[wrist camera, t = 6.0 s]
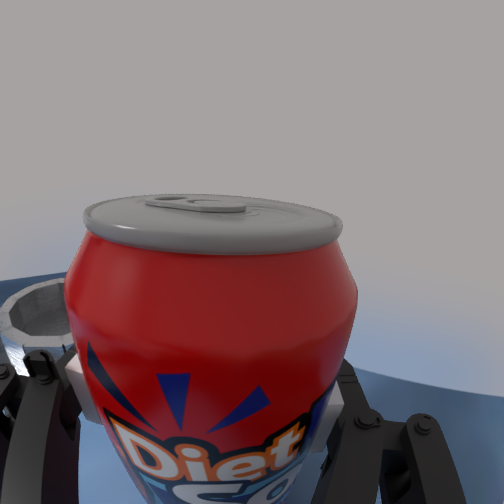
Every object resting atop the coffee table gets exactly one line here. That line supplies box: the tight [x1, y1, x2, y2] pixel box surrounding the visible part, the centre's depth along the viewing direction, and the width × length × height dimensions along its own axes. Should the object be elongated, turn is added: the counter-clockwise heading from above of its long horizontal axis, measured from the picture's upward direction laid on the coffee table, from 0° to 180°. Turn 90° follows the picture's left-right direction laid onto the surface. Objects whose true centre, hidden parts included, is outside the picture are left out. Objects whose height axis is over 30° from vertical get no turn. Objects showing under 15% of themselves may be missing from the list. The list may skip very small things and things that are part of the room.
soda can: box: [64, 194, 358, 504], centre depth 9 cm, size 8×8×15 cm
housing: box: [0, 278, 74, 416], centre depth 22 cm, size 18×18×4 cm
